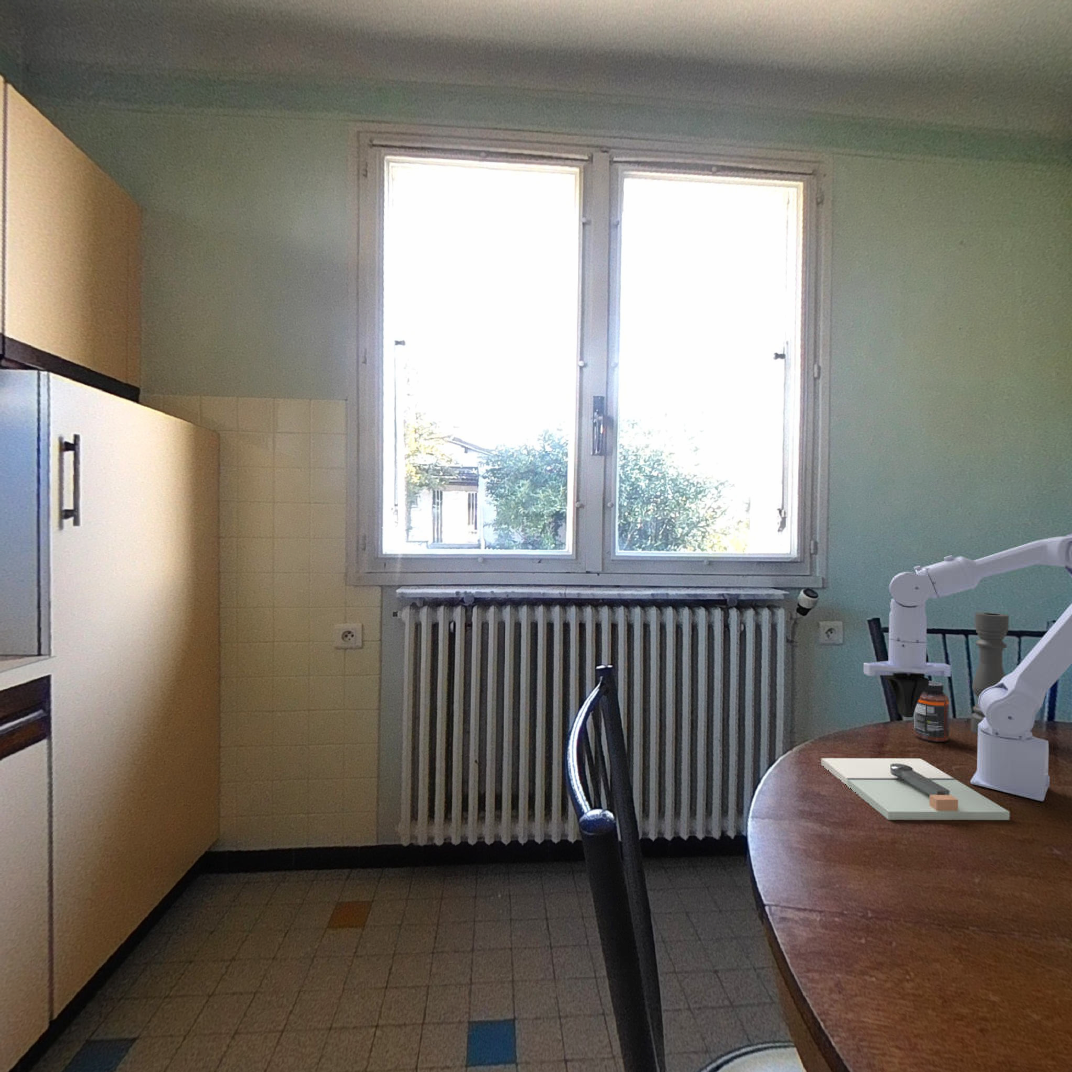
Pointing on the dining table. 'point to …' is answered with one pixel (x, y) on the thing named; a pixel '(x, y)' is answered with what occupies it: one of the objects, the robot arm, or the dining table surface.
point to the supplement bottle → (932, 714)
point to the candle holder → (988, 656)
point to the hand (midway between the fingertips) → (905, 715)
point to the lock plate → (911, 791)
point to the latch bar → (917, 779)
